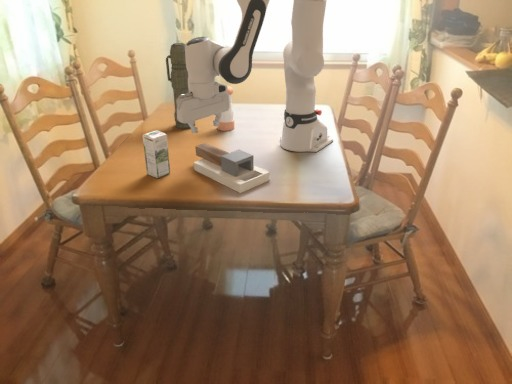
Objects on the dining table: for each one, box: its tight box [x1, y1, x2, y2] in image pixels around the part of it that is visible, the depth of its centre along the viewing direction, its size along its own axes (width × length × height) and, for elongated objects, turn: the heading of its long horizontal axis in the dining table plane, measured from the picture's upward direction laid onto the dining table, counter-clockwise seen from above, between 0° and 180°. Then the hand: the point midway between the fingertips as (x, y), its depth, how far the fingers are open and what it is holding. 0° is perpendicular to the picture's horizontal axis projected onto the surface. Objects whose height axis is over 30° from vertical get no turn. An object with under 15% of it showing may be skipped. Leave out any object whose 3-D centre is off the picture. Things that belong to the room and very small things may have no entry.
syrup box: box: [142, 130, 171, 179], centre depth 142 cm, size 6×6×14 cm
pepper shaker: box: [217, 83, 235, 132], centre depth 182 cm, size 7×7×19 cm
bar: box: [194, 142, 229, 167], centre depth 148 cm, size 4×15×4 cm, turn 44°
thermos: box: [165, 42, 196, 130], centre depth 182 cm, size 9×12×35 cm
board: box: [193, 149, 271, 194], centre depth 142 cm, size 13×24×8 cm, turn 44°
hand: (205, 129), depth 147 cm, fingers open, 8 cm apart
